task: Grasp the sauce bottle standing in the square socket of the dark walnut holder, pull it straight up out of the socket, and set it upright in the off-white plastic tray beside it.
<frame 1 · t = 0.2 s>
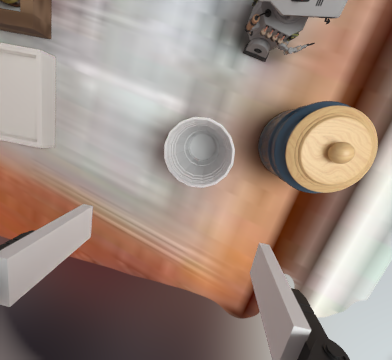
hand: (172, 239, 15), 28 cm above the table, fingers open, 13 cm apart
plastic cup: (202, 148, 41), on the table
canister: (289, 144, 40), on the table
figurine: (275, 36, 36), on the table
plastic tray: (19, 97, 42), on the table
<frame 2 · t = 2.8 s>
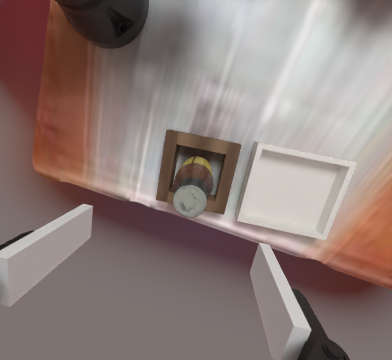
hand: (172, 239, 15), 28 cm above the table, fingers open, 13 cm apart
sauce bottle: (198, 169, 42), resting in walnut holder
walnut holder: (197, 169, 42), on the table
plastic tray: (287, 188, 41), on the table
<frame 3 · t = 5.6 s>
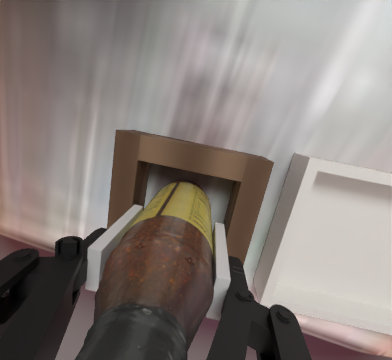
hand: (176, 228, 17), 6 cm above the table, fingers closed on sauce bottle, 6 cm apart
sauce bottle: (185, 203, 23), resting in walnut holder, touching gripper
walnut holder: (185, 203, 23), on the table
plastic tray: (351, 239, 22), on the table
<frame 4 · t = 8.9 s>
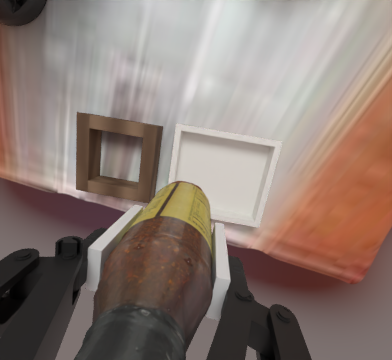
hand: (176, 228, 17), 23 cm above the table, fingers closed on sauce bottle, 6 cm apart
sauce bottle: (185, 203, 23), point 16 cm above the table, touching gripper
walnut holder: (123, 156, 39), on the table
plastic tray: (218, 173, 39), on the table
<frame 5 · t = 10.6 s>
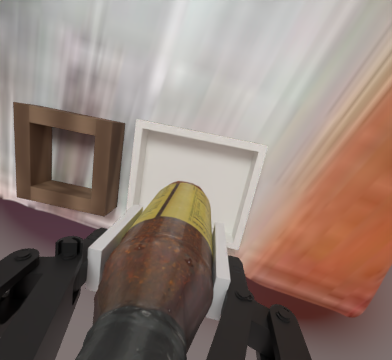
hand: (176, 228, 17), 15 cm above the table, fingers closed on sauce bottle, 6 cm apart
sauce bottle: (185, 204, 23), point 9 cm above the table, touching gripper
walnut holder: (79, 158, 32), on the table
plastic tray: (192, 182, 32), on the table
when the fingers open (8 cm above the table, at t = 12.2 s): sauce bottle drops 2 cm, resting on plastic tray.
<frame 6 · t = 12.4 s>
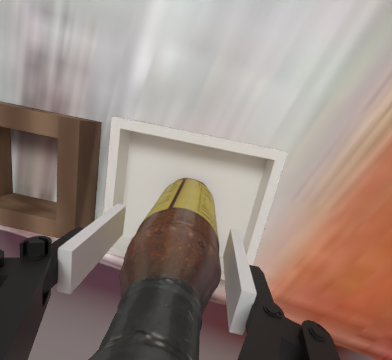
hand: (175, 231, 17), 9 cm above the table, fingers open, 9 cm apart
sauce bottle: (190, 199, 25), point 1 cm above the table, touching plastic tray
walnut holder: (45, 166, 26), on the table
plastic tray: (188, 197, 25), on the table
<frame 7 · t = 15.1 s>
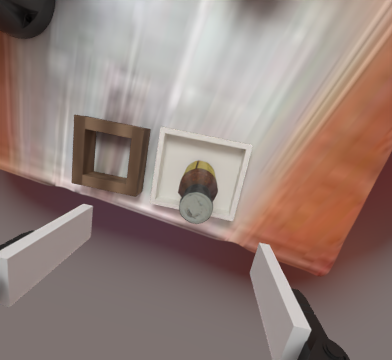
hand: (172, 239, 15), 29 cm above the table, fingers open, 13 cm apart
sauce bottle: (201, 173, 43), point 1 cm above the table, touching plastic tray
walnut holder: (115, 155, 44), on the table
plastic tray: (199, 172, 43), on the table
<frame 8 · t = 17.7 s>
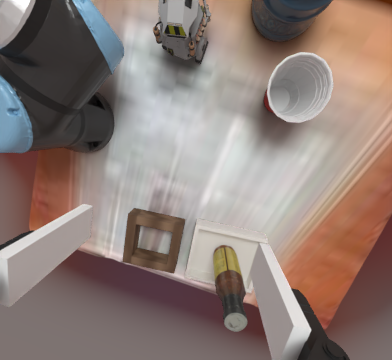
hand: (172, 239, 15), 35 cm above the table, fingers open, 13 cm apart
sauce bottle: (225, 253, 53), point 1 cm above the table, touching plastic tray
plastic cup: (277, 99, 44), on the table
canister: (282, 7, 40), on the table
figurine: (188, 36, 43), on the table
walnut holder: (156, 236, 55), on the table
plastic tray: (223, 251, 54), on the table
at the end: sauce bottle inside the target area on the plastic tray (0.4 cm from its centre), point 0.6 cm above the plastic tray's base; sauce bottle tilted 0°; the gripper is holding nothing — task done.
